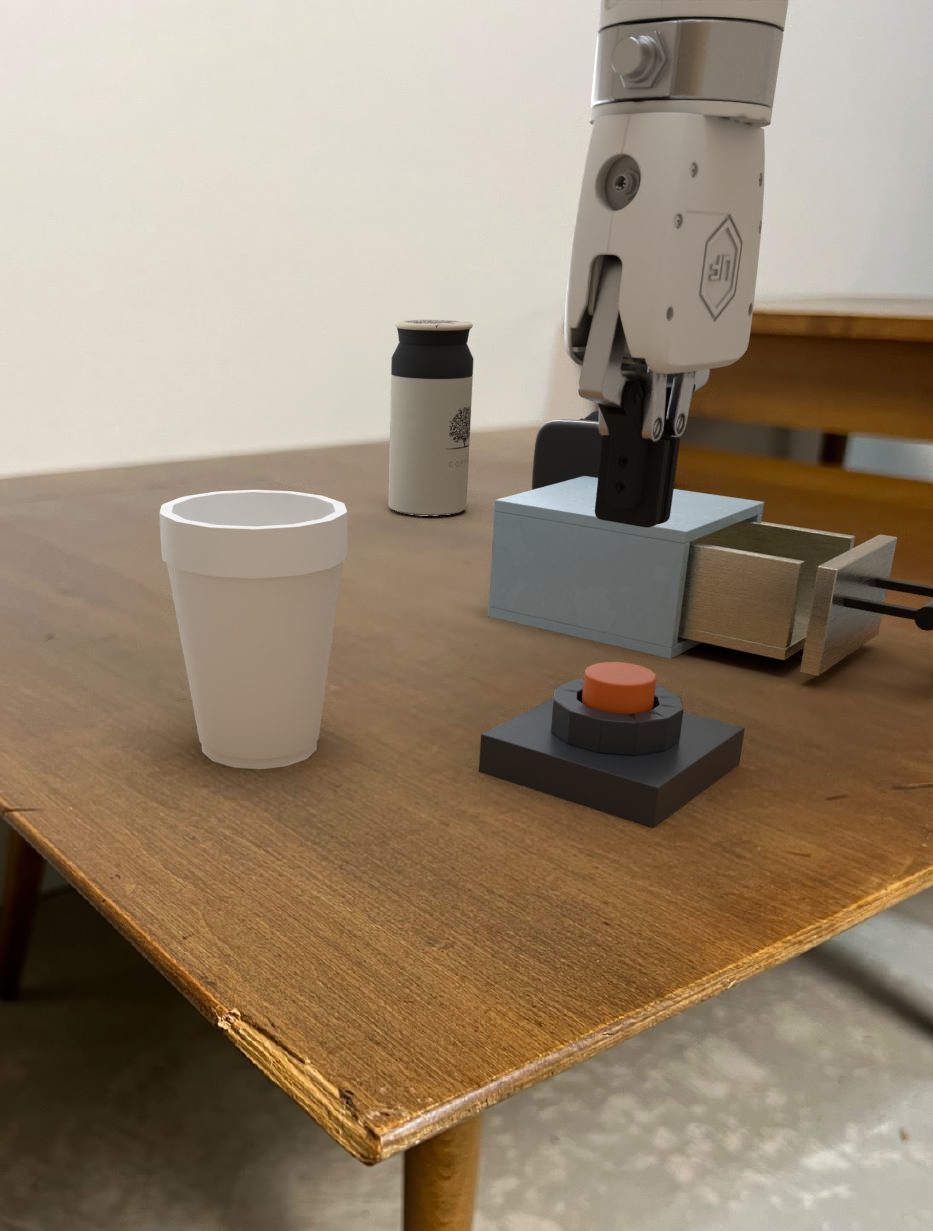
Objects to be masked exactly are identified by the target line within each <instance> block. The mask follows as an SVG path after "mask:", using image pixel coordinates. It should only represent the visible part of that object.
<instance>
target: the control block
mask: <svg viewBox="0 0 933 1231" xmlns="http://www.w3.org/2000/svg"><path fill="white" fill-rule="evenodd" d="M583 684H584V678H577V679H572V680H569V681H567V682H565V683H563V684H561V685H559V686H557V687H555V688H554V690H553V697H551V698H549V699H547V700H545V701H543V702H542V703H539V704H538V705H535V706H534V707H532V708H530V709H528V710H526V711H524V712H522V713H520V714H518V715H516V716H514V717H512V718H510V719H508V720H506V721H505V722H504V721H503V723H500V724H498V725H496V726H494V727H492V728H491V729H488V730H486V731H485V732H483V733H481V734H480V743H479V744H480V746H479V760H478V761H479V762H478V772H479V773H481V774H485V775H487V776H490V777H493V778H497V779H500V780H503V781H506V782H508V783H512V784H515V785H519V786H521V787H524V788H528V789H530V790H534V791H536V792H539V793H542V794H546V795H549V796H552V797H555V798H558V799H561V800H565V801H568V802H571V803H573V804H577V805H579V806H583V807H585V808H589V809H591V810H596V811H598V812H601V813H604V814H607V815H610V816H613V817H616V818H619V819H623V820H626V821H629V822H632V823H635V824H637V825H641V826H644V827H647V828H650V829H655V828H656V827H657V826H659V825H660V824H662V823H663V822H664V821H666V819H668V818H670V817H671V816H672V815H673V814H675V813H677V812H678V811H679V810H680V809H681V808H683V807H684V806H685V805H687V804H688V803H690V802H691V801H692V800H694V799H695V798H697V797H698V796H699V795H700V794H702V793H703V792H704V791H706V790H707V789H709V788H710V787H711V786H712V785H714V784H715V783H717V782H718V781H719V780H721V779H722V778H724V776H727V774H730V772H731V771H732V770H734V769H735V768H737V767H738V766H739V765H740V763H741V755H742V750H743V742H744V736H745V729H746V728H745V727H744V726H740V725H737V724H732V723H729V722H725V721H721V720H717V719H713V718H710V717H706V716H702V715H698V714H694V713H692V712H691V713H690V712H686V711H685V710H684V705H683V704H684V703H683V700H682V697H681V696H680V695H678V694H676V693H675V692H674V691H673V692H672V691H671V690H669V689H667V688H666V687H664V686H663V685H658V684H656V686H655V695H654V703H653V709H652V710H651V711H648V712H640V713H633V714H624V713H610V712H605V711H601V710H598V709H594V708H590V707H588V706H586V705H585V704H583V703H582V695H583Z"/></svg>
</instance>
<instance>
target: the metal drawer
mask: <svg viewBox="0 0 933 1231" xmlns="http://www.w3.org/2000/svg"><path fill="white" fill-rule="evenodd" d="M855 540H856V536H855V535H851V534H846V533H840V532H839V533H838V532H834V531H833V532H832V531H827V530H826V531H825V530H821V529H814V528H813V529H812V528H806V527H800V526H794V525H786V524H780V523H774V522H767V521H762V520H761V521H755V520H749V519H746V520H743V521H741V522H738V523H736V524H733V525H731V526H728V527H726V528H723V529H720V530H718V531H715V532H713V533H710V534H708V535H705V536H703V537H700V538H698V539H695V540H693V541H690V546H689V553H688V561H687V569H686V577H685V585H684V593H683V601H682V608H681V616H680V624H679V632H678V637H680V638H685V639H689V640H694V641H698V642H702V644H703V643H704V644H708V645H713V646H717V647H722V648H726V649H730V650H735V651H740V652H745V653H749V654H752V655H753V654H754V655H758V656H762V657H767V658H771V659H774V660H775V659H776V660H781V661H785V660H787V659H789V658H790V657H791V656H793V655H795V654H796V653H798V652H800V651H801V650H803V652H802V657H801V662H800V669H799V672H800V673H802V674H805V675H806V674H807V675H809V676H810V675H811V676H815V677H819V676H820V675H822V674H823V673H825V672H826V671H828V670H829V669H830V668H832V667H833V666H835V665H837V664H838V663H839V662H841V661H842V660H844V659H845V658H846V657H848V656H849V655H851V654H852V653H854V652H855V651H857V650H858V649H859V648H861V647H863V646H864V645H865V644H866V643H868V642H870V641H871V640H872V639H874V638H876V637H877V636H878V635H879V632H880V627H881V623H882V618H883V615H886V616H890V617H896V618H902V619H907V620H912V621H914V623H915V625H916V627H917V628H918V629H920V630H922V631H925V632H931V631H933V599H931V600H930V601H928V602H927V603H926V604H924V605H922V606H920V608H917V607H911V606H907V605H900V604H895V603H889V602H885V601H886V597H887V592H888V591H889V590H890V591H894V592H899V593H905V594H912V595H917V596H922V597H928V598H933V585H928V584H922V583H916V582H911V581H904V580H899V579H893V578H890V577H891V572H892V567H893V562H894V557H895V551H896V547H897V542H898V537H897V536H893V535H886V534H878V535H876V536H874V537H872V538H870V539H868V540H866V541H864V542H863V543H861V544H858V545H856V546H855ZM854 546H855V547H854Z"/></svg>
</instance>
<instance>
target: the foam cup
mask: <svg viewBox="0 0 933 1231" xmlns="http://www.w3.org/2000/svg"><path fill="white" fill-rule="evenodd" d="M158 514H159V516H158V517H159V533H160V551H161V561H163V562H165V563H166V568H167V573H168V579H169V585H170V590H171V595H172V601H173V605H174V611H175V617H176V623H177V628H178V633H179V640H180V644H181V649H182V655H183V660H184V665H185V670H186V676H187V681H188V686H189V692H190V697H191V703H192V709H193V714H194V719H195V724H196V730H197V735H198V740H199V741H198V742H199V743H200V744H201V753H202V754H203V755H204V756H206V757H208V759H209V760H211V761H212V762H214V763H217V764H221V765H224V766H227V767H229V768H235V769H236V768H237V769H250V770H251V769H252V770H266V769H274V768H283V767H284V768H285V767H289V766H291V765H294V764H297V763H299V762H302V761H305V760H307V759H308V758H309V757H310V756H312V755H313V754H314V753H315V752H316V751H317V750H318V747H317V746H318V745H317V744H318V741H319V738H320V731H321V724H322V716H323V710H324V703H325V702H324V701H325V694H326V687H327V680H328V679H327V678H328V671H329V666H330V658H331V649H332V644H333V643H332V642H333V635H334V628H335V621H336V613H337V605H338V598H339V590H340V586H341V585H340V583H341V577H342V570H343V562H344V561H345V560H347V559H348V510H347V508H346V505H345V502H343V501H339V500H336V499H334V498H331V497H329V496H325V495H320V494H313V493H306V492H300V491H294V490H293V491H291V490H290V491H289V490H270V489H269V490H268V489H267V490H266V489H242V490H241V489H240V490H222V491H220V490H219V491H211V492H204V493H197V494H191V495H185V496H180V497H178V498H175V499H172V500H169V501H167V502H164V503H162V504H161V507H160V510H159V513H158Z"/></svg>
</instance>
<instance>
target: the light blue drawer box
mask: <svg viewBox="0 0 933 1231" xmlns="http://www.w3.org/2000/svg"><path fill="white" fill-rule="evenodd" d="M597 484H598V478H594V477H587V476H583V477H579V478H575V479H571V480H568V481H564V482H560V483H556V484H553V485H549V486H545V487H542V488H538V489H534V490H532V489H530V490H527V491H524V492H520V493H516V494H511V495H508V496H504V497H500V498H497V499H495V500H494V506H493V508H494V509H493V510H494V512H493V524H492V525H493V526H492V541H491V542H492V543H491V560H490V573H489V574H490V578H489V592H488V594H489V595H488V609H487V617H488V618H493V619H499V620H503V621H507V622H511V623H516V624H520V625H525V626H528V627H533V628H538V629H541V630H546V631H550V632H554V633H558V634H563V635H567V636H572V637H575V638H580V639H584V640H588V641H592V642H597V643H602V644H606V645H609V646H614V647H619V648H623V649H627V650H631V651H636V652H640V653H643V654H648V655H653V656H656V657H657V656H658V657H662V658H664V659H665V658H666V659H673V658H674V657H677V656H679V655H681V654H683V653H685V652H687V651H689V650H691V649H693V648H694V647H696V646H699V645H700V644H703V642H698V641H694V640H689V639H685V638H680V637H678V632H679V624H680V616H681V608H682V601H683V593H684V585H685V577H686V569H687V561H688V553H689V546H690V541H693V540H695V539H698V538H700V537H703V536H705V535H708V534H710V533H713V532H715V531H718V530H720V529H723V528H726V527H728V526H731V525H733V524H736V523H738V522H741V521H743V520H746V519H749V520H755V521H762V519H763V513H764V506H765V501H761V500H760V501H759V500H752V499H746V498H741V497H740V498H739V497H731V496H726V495H719V494H713V493H712V494H711V493H705V492H698V491H690V490H683V489H676V488H674V490H673V498H672V505H671V513H670V518H669V520H668V521H667V522H664V523H662V524H657V525H655V526H652V527H649V528H645V527H640V526H634V525H628V524H622V523H617V522H611V521H605V520H600V519H598V518H597V517H596V515H595V503H596V493H597Z"/></svg>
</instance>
